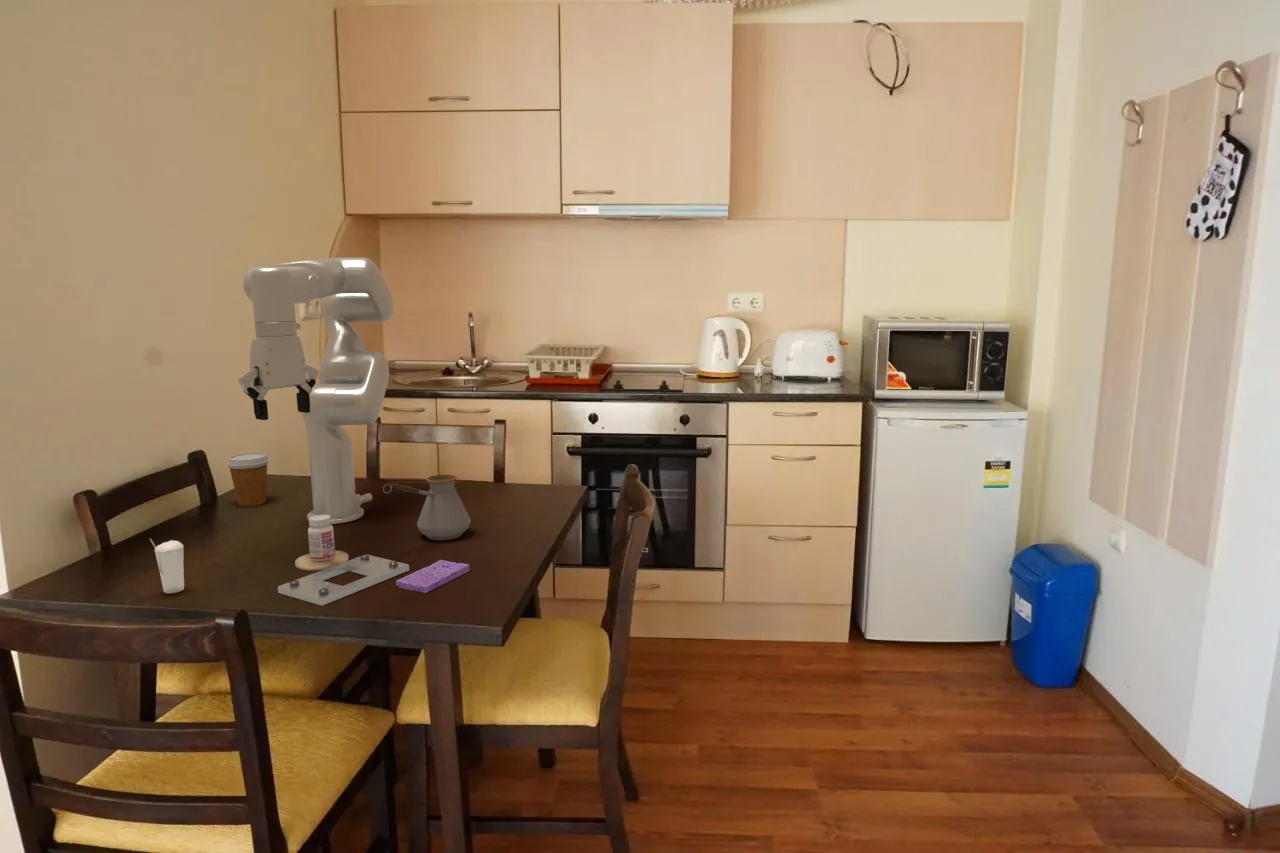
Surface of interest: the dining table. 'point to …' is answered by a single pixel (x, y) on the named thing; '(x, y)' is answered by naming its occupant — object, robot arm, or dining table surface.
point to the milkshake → (170, 565)
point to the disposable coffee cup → (249, 477)
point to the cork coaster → (308, 564)
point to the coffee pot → (440, 508)
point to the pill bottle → (321, 538)
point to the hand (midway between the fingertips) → (283, 415)
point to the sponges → (433, 576)
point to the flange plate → (325, 592)
